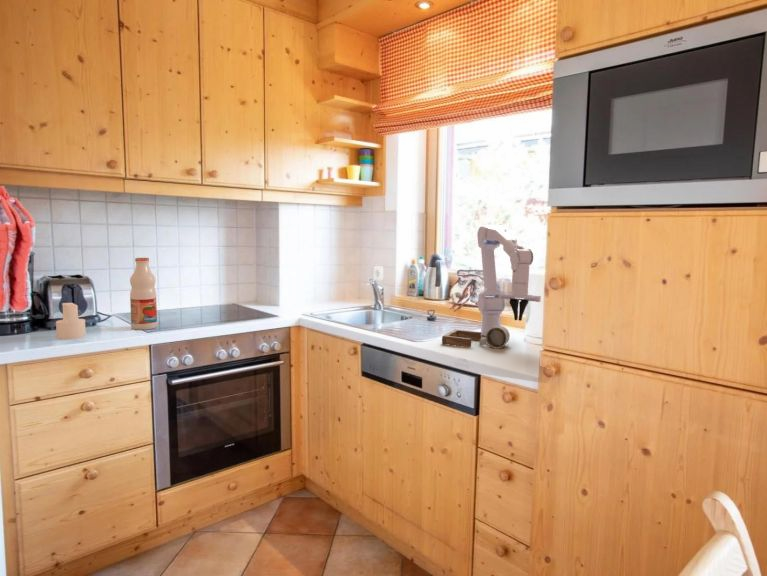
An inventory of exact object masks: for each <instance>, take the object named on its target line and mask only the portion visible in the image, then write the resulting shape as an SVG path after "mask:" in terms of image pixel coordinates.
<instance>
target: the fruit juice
mask: <svg viewBox="0 0 767 576" xmlns="http://www.w3.org/2000/svg"><path fill="white" fill-rule="evenodd" d="M135 263H136V264H135V269H134V271H133V273H132V274H131V276H130V278H129V283H130V286H131V289H130V294H129V299H130V300H129V302H130V326H131V329H132V330H135V331H137V330H139V331H140V330H141V331H142V330H152V329H155V328H157V325H158V311H157V291H156V288H155V285H156V277H155V275H154V274H153V273H152V271H151V269H150V266H149V263H150V258H149V257H136V258H135Z"/></svg>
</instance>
